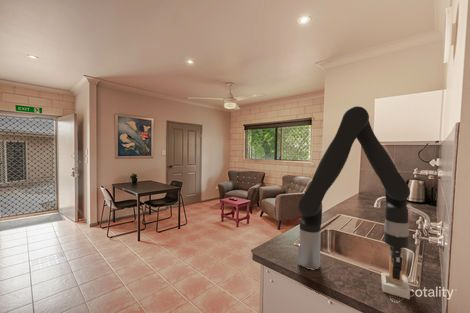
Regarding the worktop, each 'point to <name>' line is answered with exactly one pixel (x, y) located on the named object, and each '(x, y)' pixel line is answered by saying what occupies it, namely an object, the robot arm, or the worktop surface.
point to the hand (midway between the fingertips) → (395, 275)
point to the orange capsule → (391, 272)
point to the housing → (395, 286)
